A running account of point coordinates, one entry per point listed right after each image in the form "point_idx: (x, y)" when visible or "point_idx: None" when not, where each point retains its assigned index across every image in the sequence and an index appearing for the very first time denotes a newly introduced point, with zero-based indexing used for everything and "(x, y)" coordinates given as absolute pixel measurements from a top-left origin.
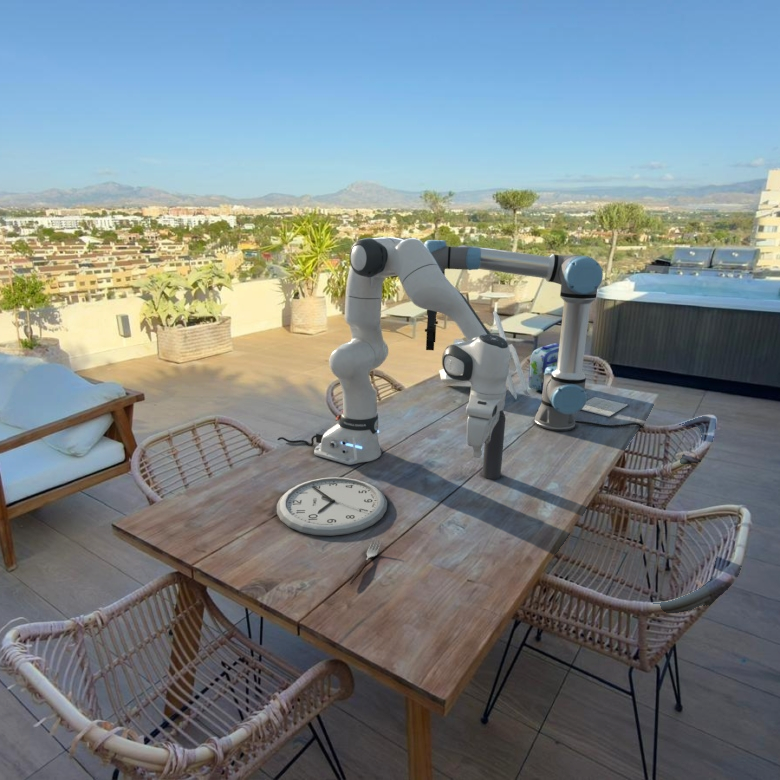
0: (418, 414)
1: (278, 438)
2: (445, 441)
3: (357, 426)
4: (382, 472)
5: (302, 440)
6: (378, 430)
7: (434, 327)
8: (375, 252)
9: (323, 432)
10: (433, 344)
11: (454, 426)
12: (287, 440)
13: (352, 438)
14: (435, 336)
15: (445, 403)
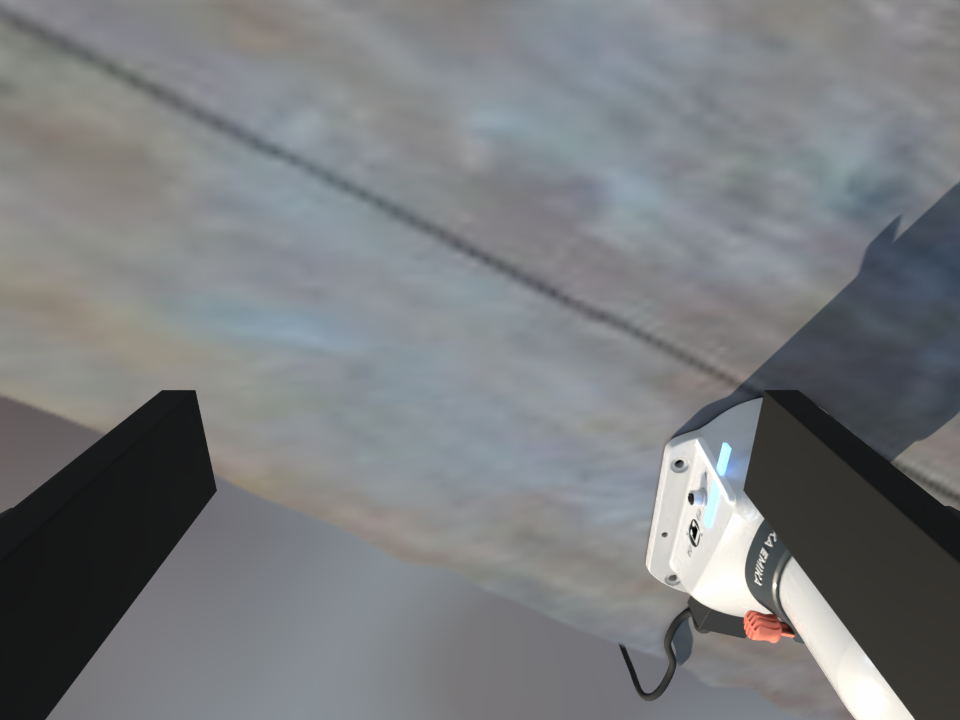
0: (285, 285)
1: (649, 700)
2: (626, 133)
3: None
4: (928, 371)
5: (670, 643)
6: (729, 449)
7: (7, 597)
8: None
9: (733, 620)
10: (855, 445)
11: (414, 84)
12: (671, 678)
13: None
14: (133, 438)
15: (50, 144)
